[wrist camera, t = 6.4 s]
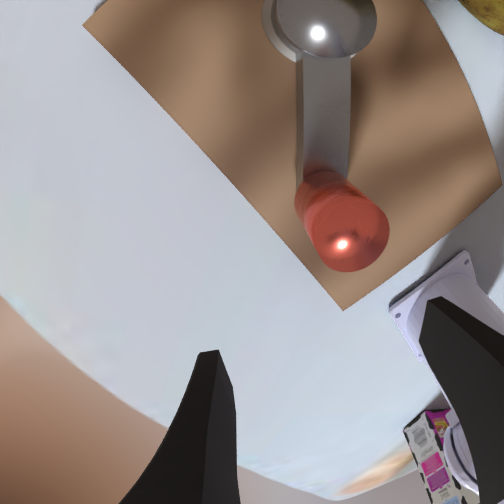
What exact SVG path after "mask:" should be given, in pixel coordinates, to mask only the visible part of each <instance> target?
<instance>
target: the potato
mask: <svg viewBox="0 0 504 504" xmlns="http://www.w3.org/2000/svg"><path fill="white" fill-rule="evenodd" d="M458 1H459V2H460V3H461V4H462V5H463V6H464V7H465V8H466V9H467V10H468V11H469V12H470V13H471V14H472V15H473V16H474V17H475V18H477V19H478V20H479V21H480V22H481V23H483V24H484V25H486V26H487V27H488V28H490V29H492V30H493V31H495V32H497V33H499V34H501V35H504V0H458Z"/></svg>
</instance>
